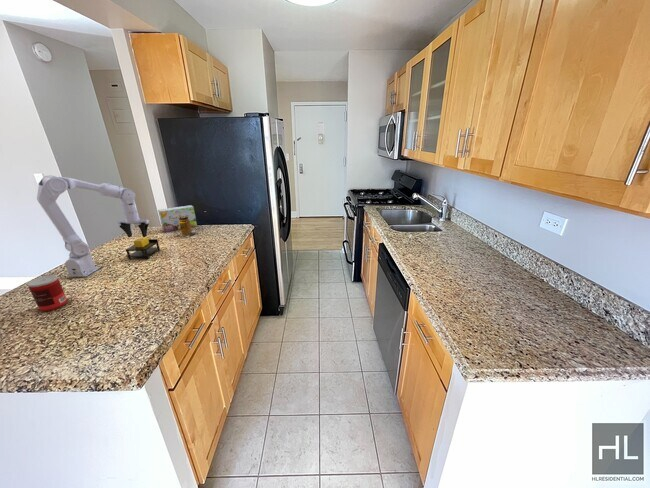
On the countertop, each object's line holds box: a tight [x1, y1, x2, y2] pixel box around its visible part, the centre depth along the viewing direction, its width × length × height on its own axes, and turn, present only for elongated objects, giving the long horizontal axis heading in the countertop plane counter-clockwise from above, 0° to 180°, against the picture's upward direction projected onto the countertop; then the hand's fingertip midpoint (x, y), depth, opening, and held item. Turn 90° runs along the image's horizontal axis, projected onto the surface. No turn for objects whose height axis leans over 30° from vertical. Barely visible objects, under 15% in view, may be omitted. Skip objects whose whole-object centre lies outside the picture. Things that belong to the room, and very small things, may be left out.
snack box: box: [157, 204, 198, 233], centre depth 181 cm, size 21×6×15 cm, turn 132°
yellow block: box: [132, 236, 149, 247], centre depth 139 cm, size 6×4×4 cm, turn 3°
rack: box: [125, 238, 161, 260], centre depth 140 cm, size 12×10×7 cm
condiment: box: [179, 216, 197, 238], centre depth 170 cm, size 7×8×12 cm
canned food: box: [27, 274, 68, 312], centre depth 95 cm, size 8×8×11 cm
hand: (137, 236), depth 138 cm, fingers open, 7 cm apart
